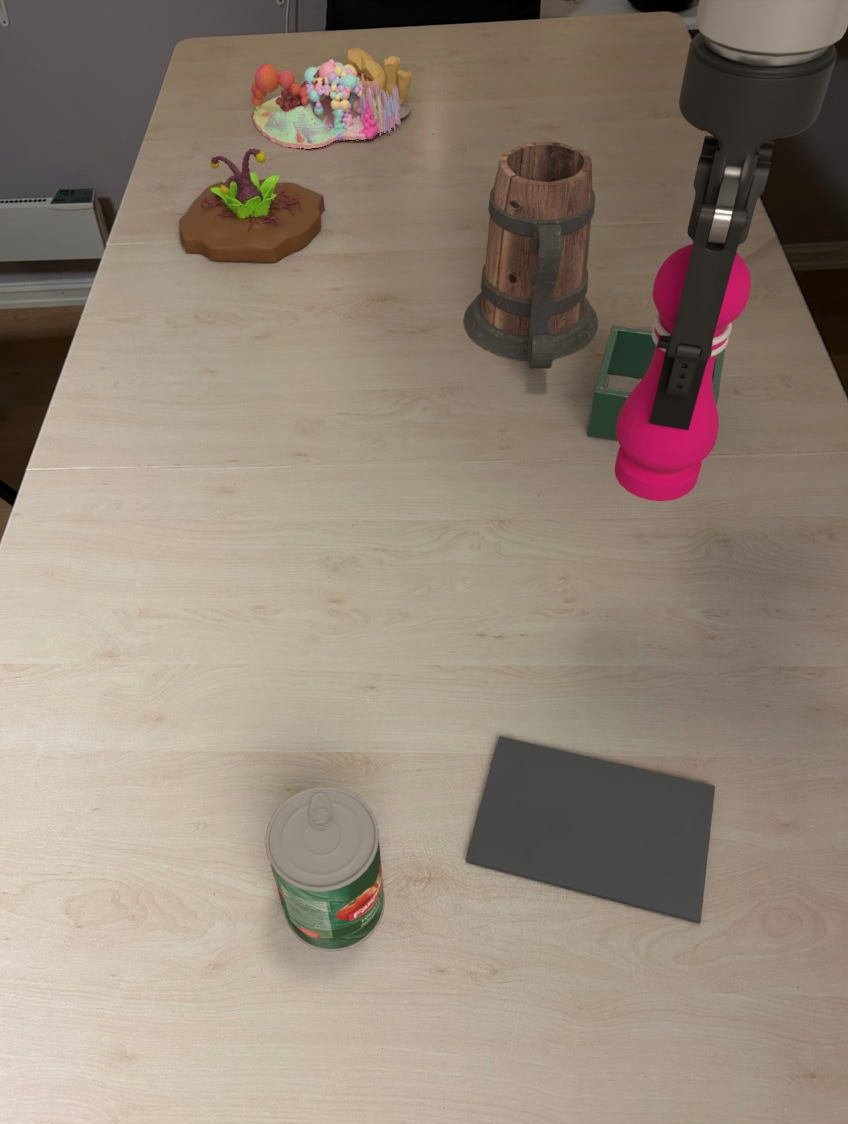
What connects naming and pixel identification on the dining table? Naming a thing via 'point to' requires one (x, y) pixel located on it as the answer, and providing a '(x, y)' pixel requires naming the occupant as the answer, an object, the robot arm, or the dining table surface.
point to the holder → (627, 358)
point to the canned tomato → (327, 867)
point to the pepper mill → (646, 449)
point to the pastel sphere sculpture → (331, 101)
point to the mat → (595, 828)
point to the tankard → (537, 257)
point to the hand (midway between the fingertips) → (675, 397)
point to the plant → (251, 216)
